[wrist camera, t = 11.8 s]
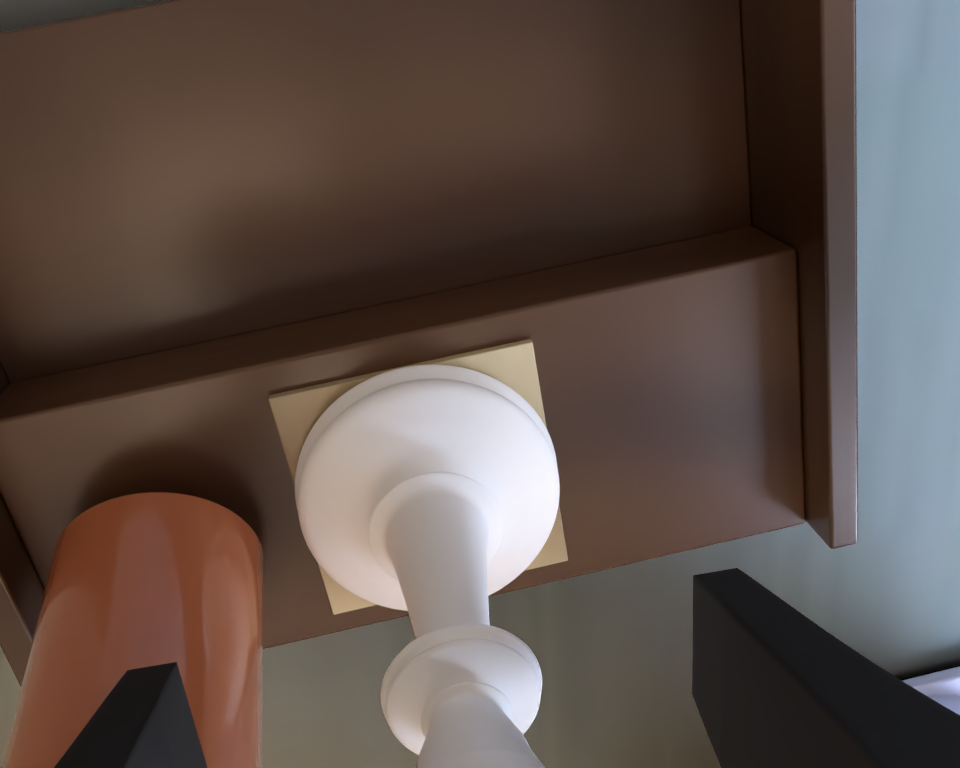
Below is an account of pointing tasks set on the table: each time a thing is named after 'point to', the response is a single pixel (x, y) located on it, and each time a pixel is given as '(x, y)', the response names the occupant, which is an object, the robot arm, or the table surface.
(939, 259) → the table surface
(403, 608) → the chess piece
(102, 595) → the spice pot
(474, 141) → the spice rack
